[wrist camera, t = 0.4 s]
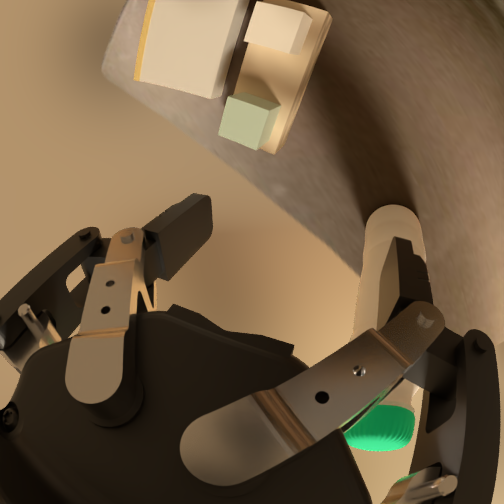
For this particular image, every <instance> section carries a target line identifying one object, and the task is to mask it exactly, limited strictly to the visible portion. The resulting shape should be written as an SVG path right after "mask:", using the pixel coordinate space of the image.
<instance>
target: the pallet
mask: <svg viewBox="0 0 504 504" xmlns="http://www.w3.org/2000/svg"><path fill="white" fill-rule="evenodd" d="M263 3H268V4H273V5H277V6H282V7H286V8H290V9H294V10H297V11H301V12H304V13H306V14H307V15H308V16H309V17H310V18H312V19H313V20H312V23H311V25H310V28H309V31H308V33H307V36H306V39H305V41H304V44H303V47H302V49H301V52H300V55H294V54H288V53H285V52H282V51H279V50H275V49H272V48H268V47H265V46H261V45H257V44H253V43H249V44H248V47H247V50H246V53H245V57H244V60H243V63H242V67H241V70H240V73H239V77H238V80H237V84H236V87H235V91H234V94H238V93H242V92H245V93H248V94H251V95H254V96H257V97H260V98H263V99H266V100H268V101H271V102H274V103H276V104H279V105H281V108H280V110H279V113H278V116H277V119H276V122H275V125H274V128H273V130H272V133H271V136H270V139H269V141H268V142H266V143H265V144H264V145H263V146H261V147H260V149H262V150H265V151H267V152H269V153H271V154H275V153H276V152H278V151H279V150H280V149H281V148H282V147H283V146H284V144H285V142H286V139H287V137H288V134H289V131H290V129H291V126H292V123H293V121H294V118H295V116H296V113H297V110H298V108H299V105H300V102H301V100H302V97H303V95H304V92H305V89H306V87H307V84H308V82H309V79H310V76H311V74H312V71H313V69H314V66H315V63H316V61H317V58H318V56H319V53H320V50H321V48H322V45H323V43H324V40H325V38H326V35H327V32H328V30H329V27H330V25H331V22H332V20H333V18H332V17H331V15H330V14H329V13H328V12H327V11H324V10H321V9H318V8H314V7H311V6H308V5H304V4H300V3H296V2H293V1H288V0H263Z"/></svg>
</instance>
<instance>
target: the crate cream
mask: <svg viewBox="0 0 504 504" xmlns="http://www.w3.org/2000/svg"><path fill="white" fill-rule="evenodd" d="M312 20H313V19H312V18H310V17H309V16H308V15H307V14H306V13H304V12H301V11H297V10H294V9H290V8H286V7H282V6H277V5H273V4H268V3H263V2H258V1H257V2H256V5H255V8H254V11H253V14H252V17H251V20H250V23H249V26H248V29H247V32H246V35H245V38H244V41H245V42H249V43H253V44H257V45H261V46H265V47H268V48H272V49H275V50H279V51H282V52H285V53H288V54H294V55H300V52H301V49H302V47H303V44H304V41H305V39H306V36H307V33H308V31H309V28H310V25H311V23H312Z"/></svg>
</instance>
